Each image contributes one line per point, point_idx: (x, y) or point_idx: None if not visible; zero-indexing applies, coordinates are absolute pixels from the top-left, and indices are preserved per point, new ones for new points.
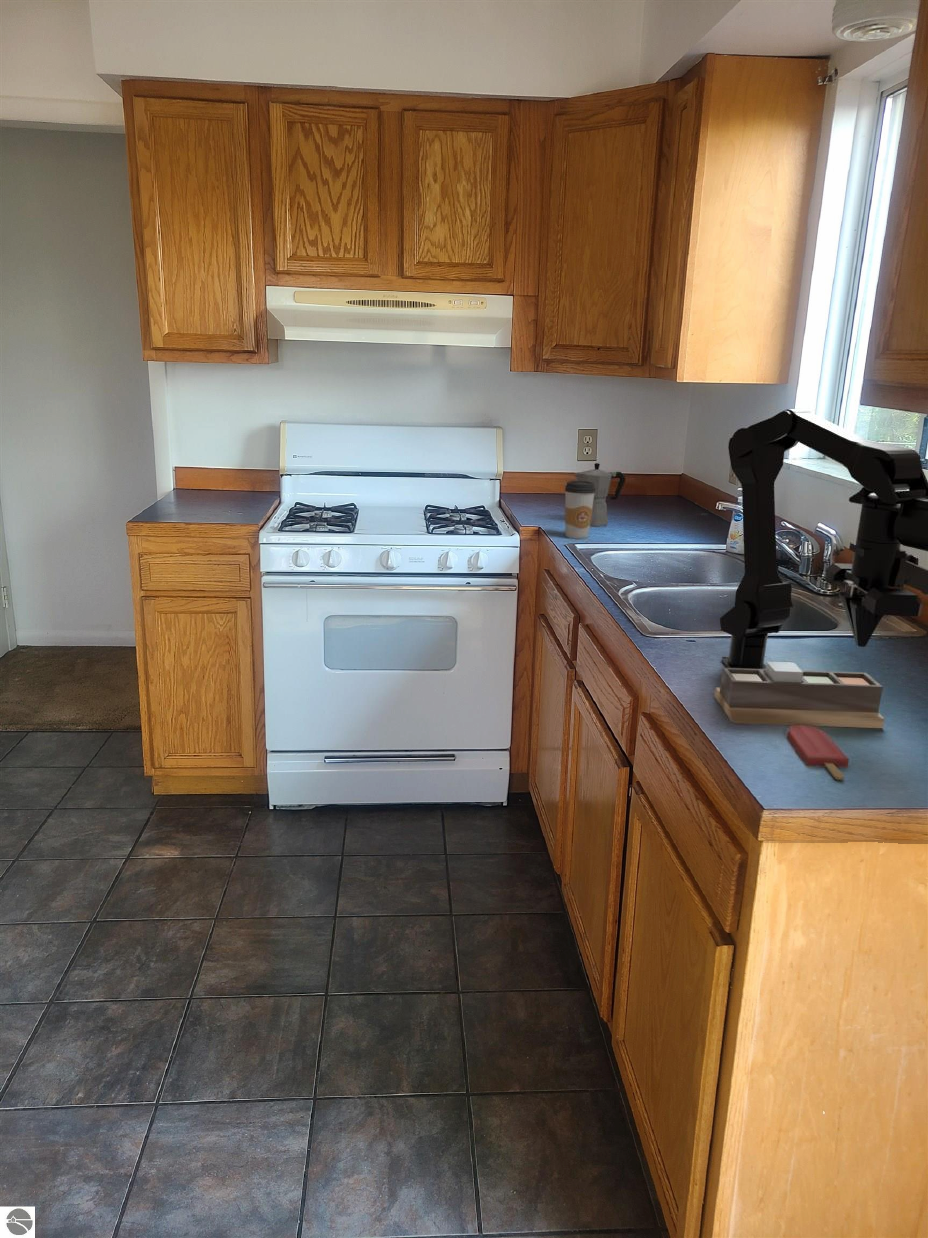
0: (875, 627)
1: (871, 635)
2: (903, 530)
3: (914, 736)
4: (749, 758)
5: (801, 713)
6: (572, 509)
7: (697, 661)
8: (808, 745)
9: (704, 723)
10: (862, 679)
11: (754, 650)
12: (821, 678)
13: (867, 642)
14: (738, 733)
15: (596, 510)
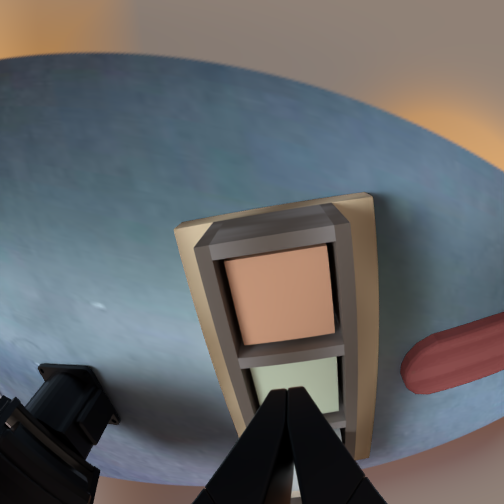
0: (362, 476)
1: (334, 431)
2: None
3: (396, 124)
4: (473, 417)
5: (365, 380)
6: None
7: (98, 442)
8: (483, 368)
9: (367, 465)
10: (241, 263)
11: (91, 430)
12: (272, 381)
13: (312, 400)
14: (402, 436)
15: None
